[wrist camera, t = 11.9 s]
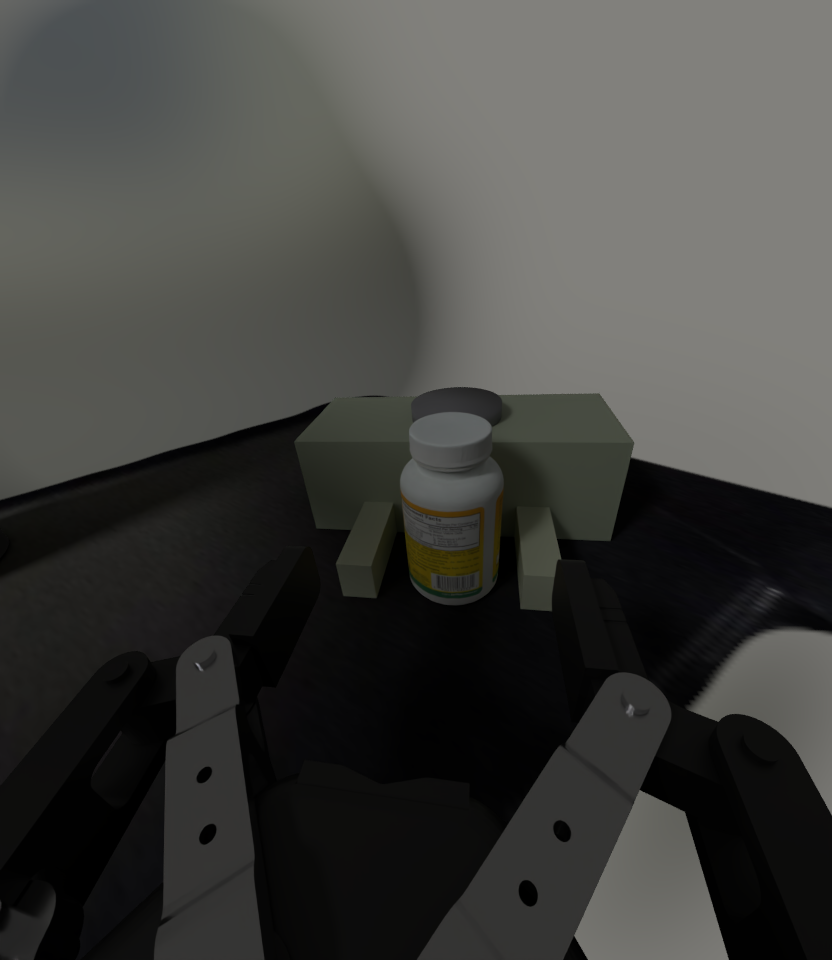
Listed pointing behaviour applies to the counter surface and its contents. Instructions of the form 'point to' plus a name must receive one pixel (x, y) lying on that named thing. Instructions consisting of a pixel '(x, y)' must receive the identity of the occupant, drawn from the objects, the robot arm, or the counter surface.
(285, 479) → the counter surface
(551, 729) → the counter surface
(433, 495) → the supplement bottle
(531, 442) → the olive footed block
